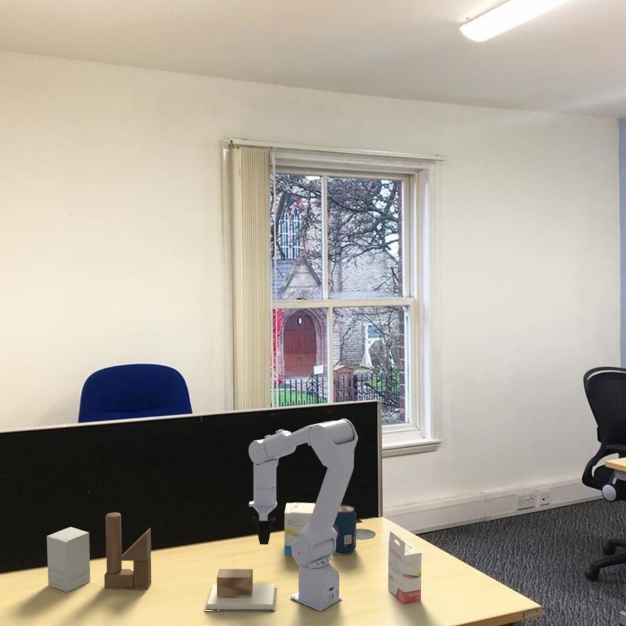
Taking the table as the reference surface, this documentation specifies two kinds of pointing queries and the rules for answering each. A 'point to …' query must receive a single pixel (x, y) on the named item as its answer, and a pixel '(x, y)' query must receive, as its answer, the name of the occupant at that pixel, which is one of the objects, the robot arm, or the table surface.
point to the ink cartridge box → (404, 570)
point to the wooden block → (126, 558)
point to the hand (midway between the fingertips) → (264, 537)
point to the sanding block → (235, 583)
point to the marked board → (245, 600)
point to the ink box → (295, 522)
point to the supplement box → (68, 559)
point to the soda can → (345, 530)
